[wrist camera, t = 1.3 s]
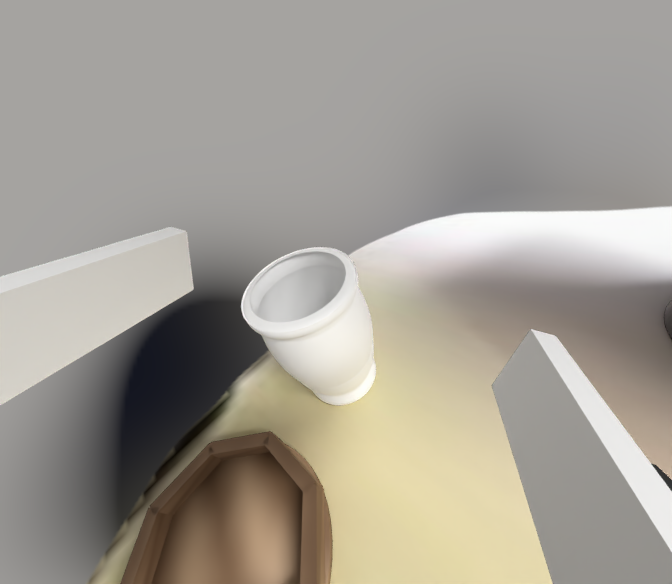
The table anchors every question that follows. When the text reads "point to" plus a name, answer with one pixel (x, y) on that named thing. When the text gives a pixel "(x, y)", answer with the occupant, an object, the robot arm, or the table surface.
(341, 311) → the jar
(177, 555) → the tray
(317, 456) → the table surface
